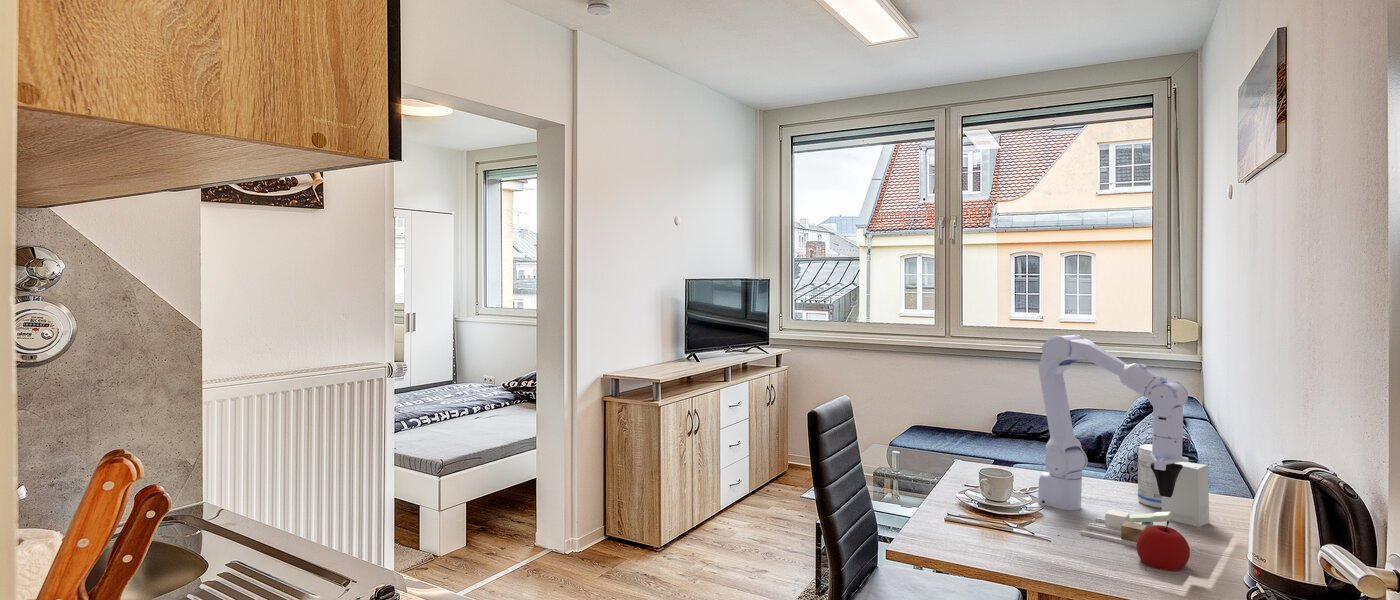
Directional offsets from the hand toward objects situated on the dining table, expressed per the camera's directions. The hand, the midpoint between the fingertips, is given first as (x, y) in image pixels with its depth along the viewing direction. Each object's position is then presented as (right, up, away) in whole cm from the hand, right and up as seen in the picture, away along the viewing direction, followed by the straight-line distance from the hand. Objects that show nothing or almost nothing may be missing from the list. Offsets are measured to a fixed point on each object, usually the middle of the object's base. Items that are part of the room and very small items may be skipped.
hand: (1165, 496), depth 164 cm
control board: (-8, -9, +1) cm, 12 cm away
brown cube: (-11, -8, -6) cm, 15 cm away
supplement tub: (+14, -9, +25) cm, 30 cm away
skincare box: (+10, -10, +9) cm, 16 cm away
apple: (-12, -10, -18) cm, 24 cm away
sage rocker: (-3, -6, +3) cm, 7 cm away
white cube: (-10, -8, +2) cm, 13 cm away
